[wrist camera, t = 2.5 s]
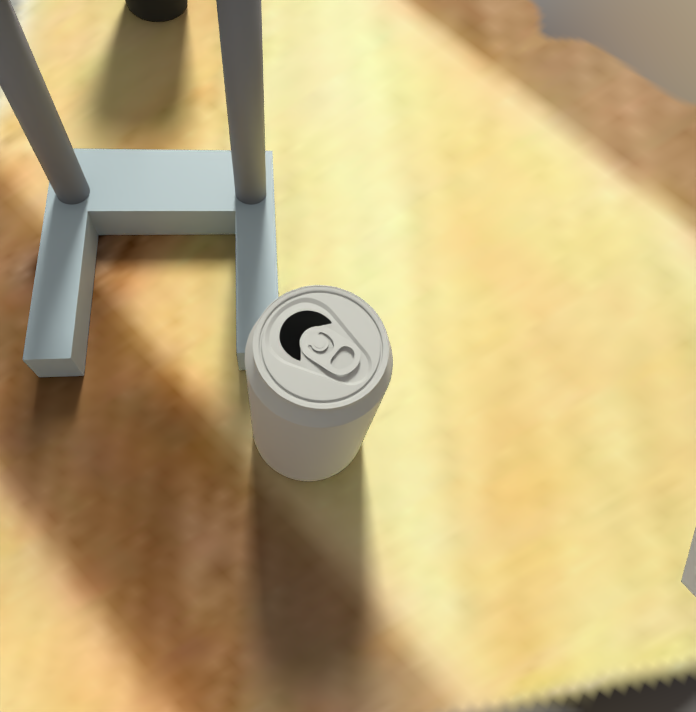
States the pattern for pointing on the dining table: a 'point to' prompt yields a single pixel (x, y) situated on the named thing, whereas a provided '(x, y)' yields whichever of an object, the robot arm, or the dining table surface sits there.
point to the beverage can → (315, 379)
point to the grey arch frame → (143, 193)
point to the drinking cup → (157, 9)
